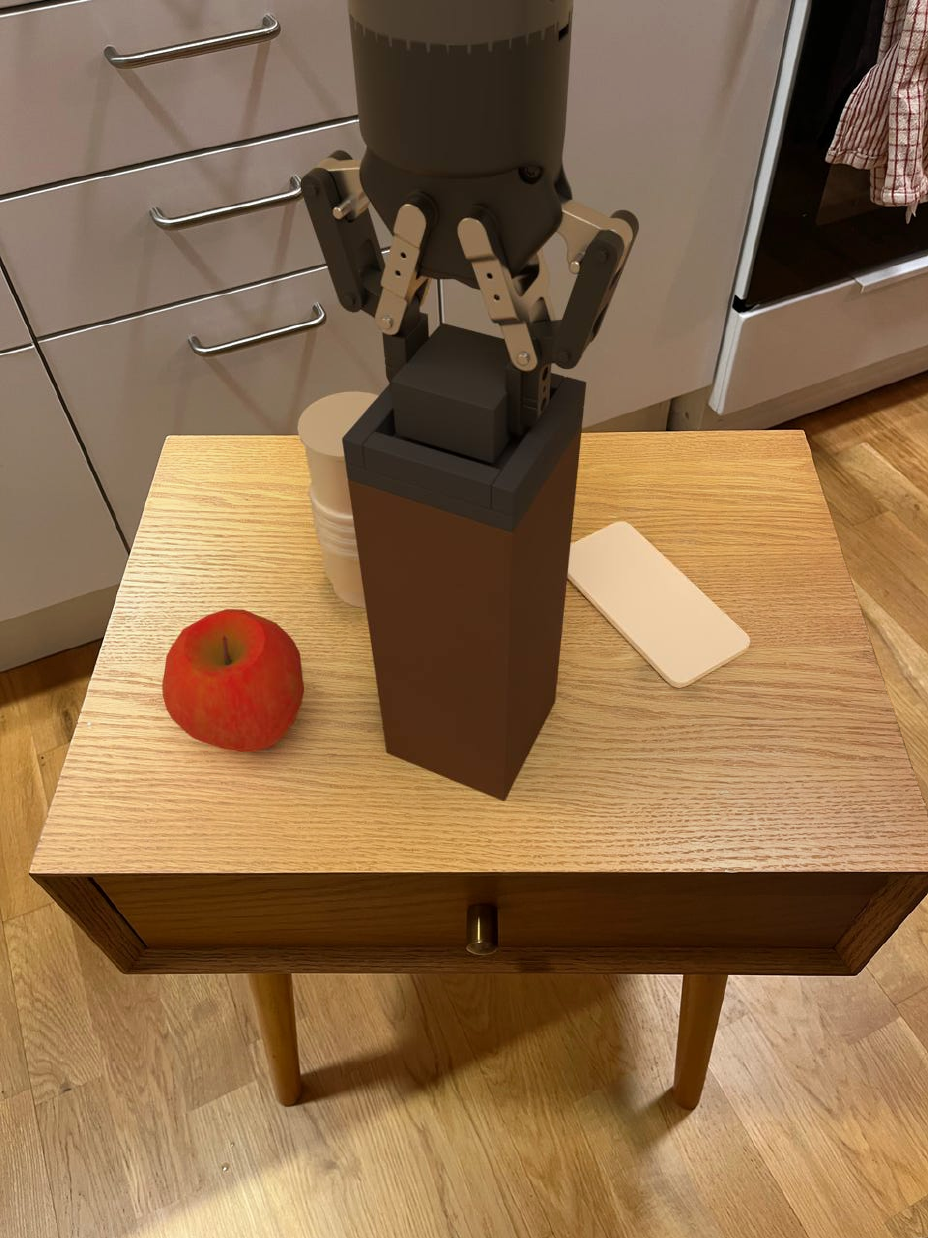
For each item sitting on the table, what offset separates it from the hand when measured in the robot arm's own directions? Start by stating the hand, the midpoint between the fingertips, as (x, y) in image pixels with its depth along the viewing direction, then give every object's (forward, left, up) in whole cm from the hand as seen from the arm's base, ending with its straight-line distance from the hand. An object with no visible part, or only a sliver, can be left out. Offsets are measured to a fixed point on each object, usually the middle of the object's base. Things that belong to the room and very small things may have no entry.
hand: (467, 407), depth 45 cm
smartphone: (-7, -15, -27) cm, 32 cm away
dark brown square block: (0, 0, -1) cm, 1 cm away
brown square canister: (0, 0, -27) cm, 27 cm away
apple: (+13, +7, -27) cm, 31 cm away
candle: (+13, -9, -27) cm, 31 cm away
